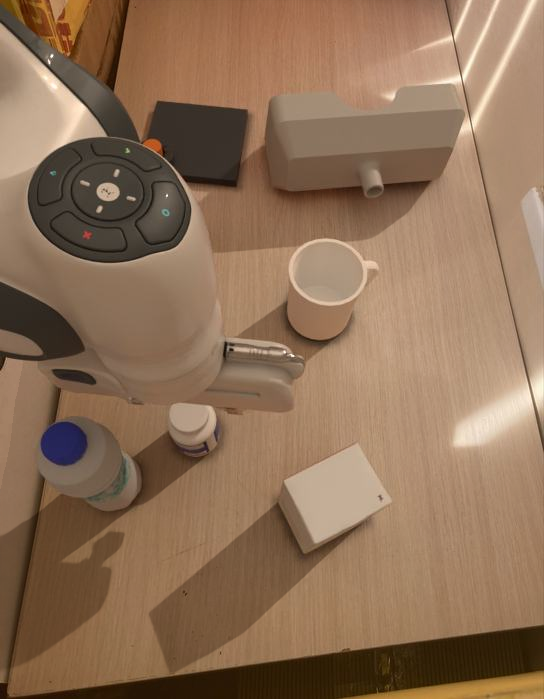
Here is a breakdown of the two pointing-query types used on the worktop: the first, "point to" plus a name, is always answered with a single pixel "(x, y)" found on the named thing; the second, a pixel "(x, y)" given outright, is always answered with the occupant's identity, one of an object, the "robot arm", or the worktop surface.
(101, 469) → the bottle
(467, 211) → the worktop surface
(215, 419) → the pill bottle
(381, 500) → the small box
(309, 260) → the mug
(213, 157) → the scale
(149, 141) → the button
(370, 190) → the tank
